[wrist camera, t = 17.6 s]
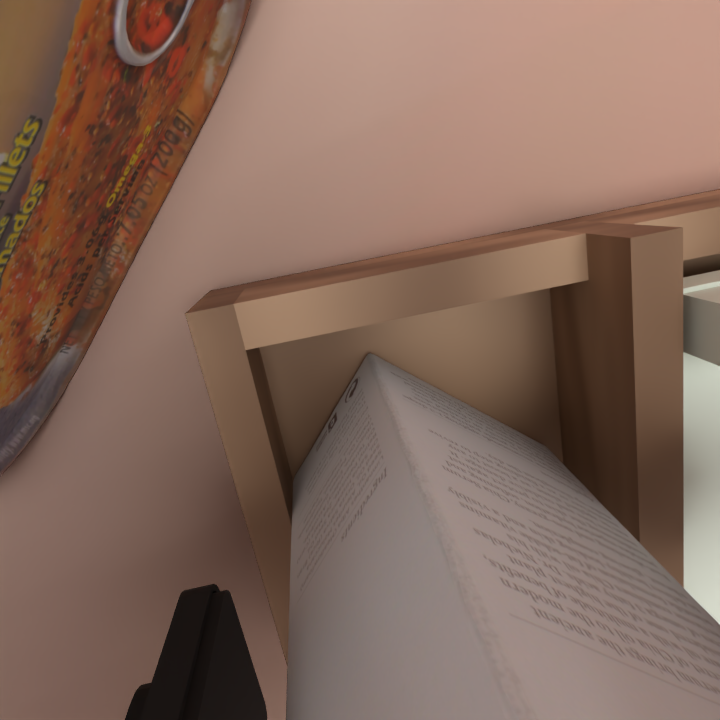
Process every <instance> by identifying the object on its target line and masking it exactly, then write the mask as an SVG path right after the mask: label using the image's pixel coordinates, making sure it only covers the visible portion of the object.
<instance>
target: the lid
mask: <svg viewBox="0 0 720 720" xmlns="http://www.w3.org/2000/svg"><path fill="white" fill-rule="evenodd" d="M683 464H684V589H685V590H686V591H687V592H688V593H689V594H690V595H691V596H692V597H693V598H694V599H695V600H696V601H697V602H698V603H699V604H700V605H701V606H702V607H703V608H704V609H705V610H706V611H707V612H708V613H709V614H710V615H711V616H712V617H713V618H714V619H715V620H716V621H717V622H718V623H719V625H720V270H718V271H713V272H708V273H703V274H698V275H693V276H689V277H684V278H683Z"/></svg>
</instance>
